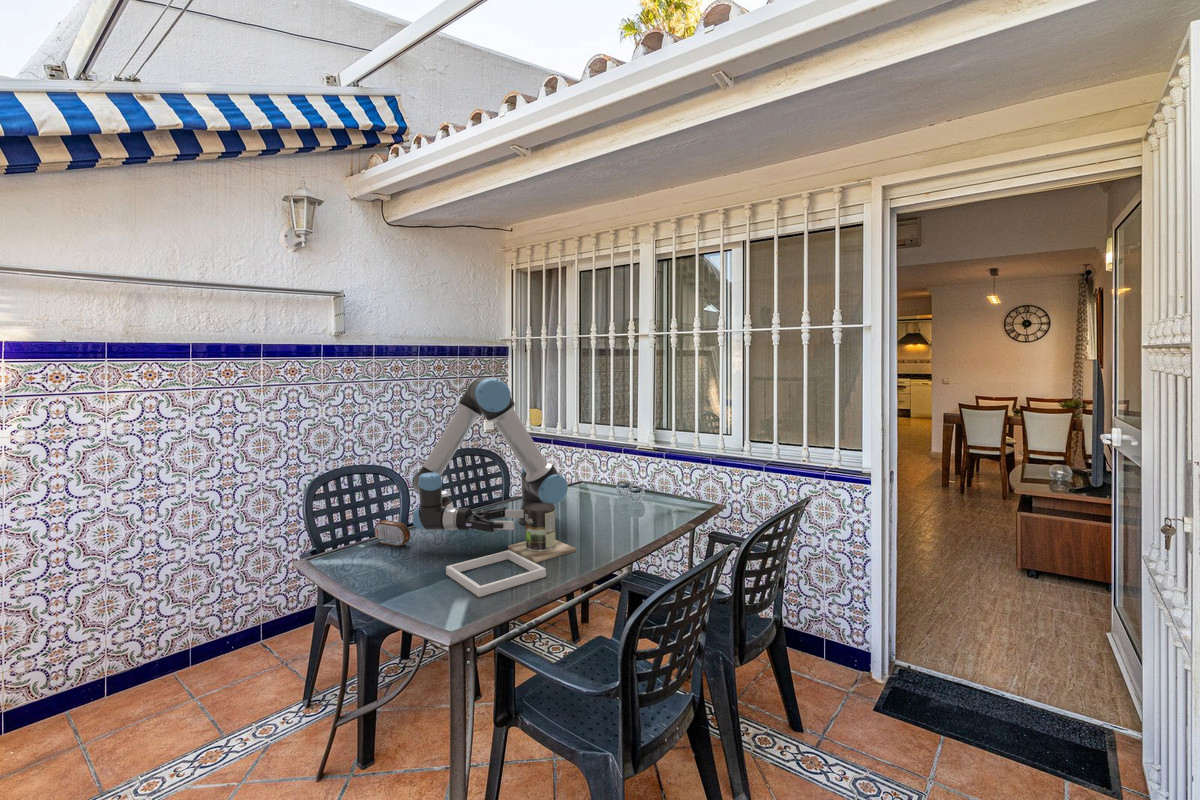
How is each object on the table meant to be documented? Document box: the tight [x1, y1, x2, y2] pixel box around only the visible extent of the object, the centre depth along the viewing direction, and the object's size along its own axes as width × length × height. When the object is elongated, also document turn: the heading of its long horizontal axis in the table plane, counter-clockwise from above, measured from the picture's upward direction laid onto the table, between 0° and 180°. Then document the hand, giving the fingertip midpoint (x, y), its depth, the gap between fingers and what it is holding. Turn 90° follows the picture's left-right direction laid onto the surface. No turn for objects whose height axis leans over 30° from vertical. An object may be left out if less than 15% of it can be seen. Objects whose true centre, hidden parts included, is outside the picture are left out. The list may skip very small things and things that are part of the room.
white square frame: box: [445, 549, 547, 598], centre depth 171 cm, size 22×22×2 cm
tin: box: [373, 519, 411, 547], centre depth 202 cm, size 15×3×8 cm, turn 65°
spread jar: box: [442, 490, 453, 508], centre depth 229 cm, size 12×11×12 cm
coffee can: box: [525, 503, 556, 552], centre depth 193 cm, size 10×10×14 cm
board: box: [507, 539, 577, 563], centre depth 193 cm, size 18×16×1 cm
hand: (518, 519), depth 193 cm, fingers open, 13 cm apart
